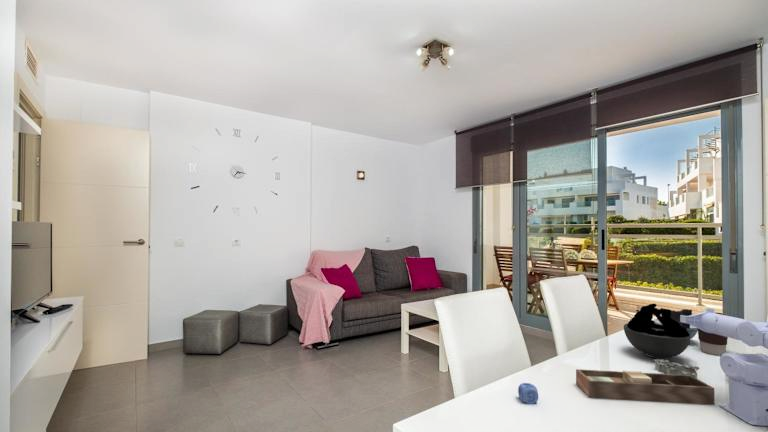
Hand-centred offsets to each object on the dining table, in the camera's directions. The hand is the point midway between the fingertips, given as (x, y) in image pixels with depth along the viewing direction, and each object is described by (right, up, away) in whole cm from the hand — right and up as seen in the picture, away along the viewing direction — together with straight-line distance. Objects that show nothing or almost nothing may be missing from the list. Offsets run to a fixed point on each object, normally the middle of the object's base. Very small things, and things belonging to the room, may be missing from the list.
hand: (684, 316), depth 112 cm
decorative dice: (-55, -19, -14) cm, 60 cm away
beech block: (-22, -17, -9) cm, 29 cm away
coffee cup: (+34, -22, +27) cm, 49 cm away
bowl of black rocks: (+7, -21, +21) cm, 31 cm away
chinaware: (+31, -22, +41) cm, 56 cm away
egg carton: (+2, -21, +6) cm, 22 cm away
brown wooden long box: (-20, -20, -9) cm, 30 cm away
